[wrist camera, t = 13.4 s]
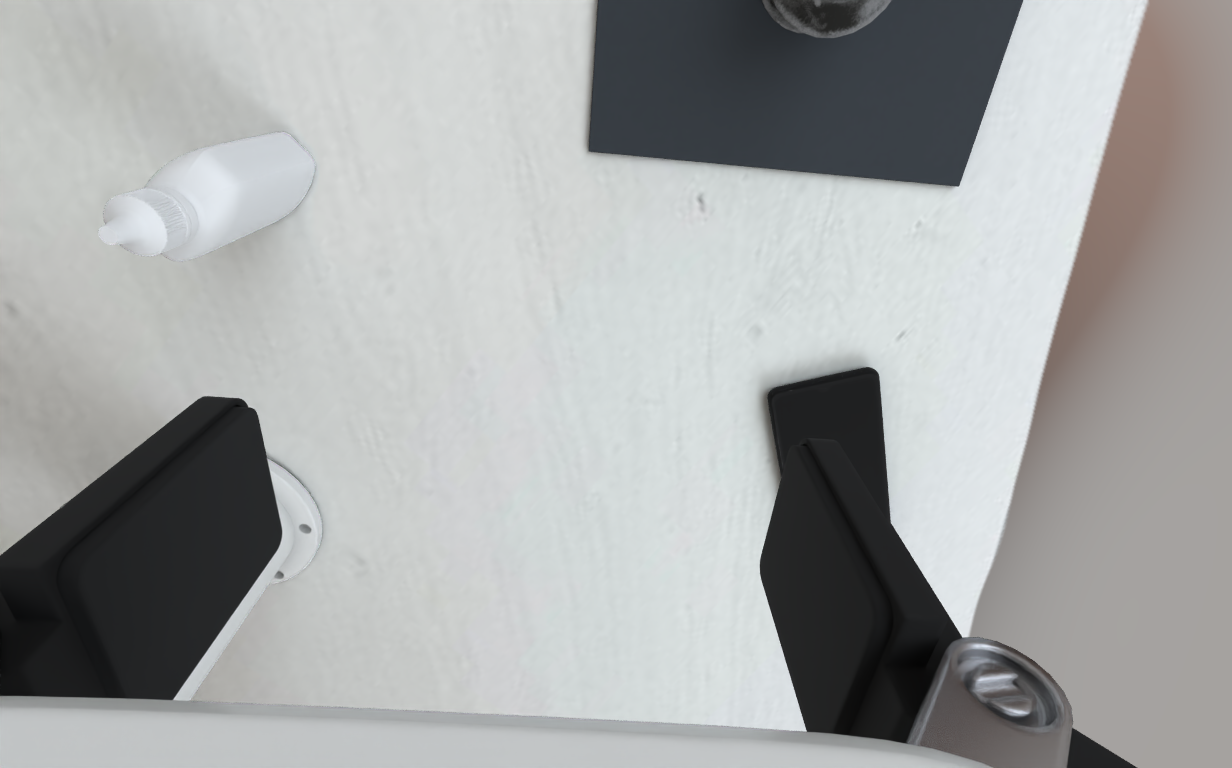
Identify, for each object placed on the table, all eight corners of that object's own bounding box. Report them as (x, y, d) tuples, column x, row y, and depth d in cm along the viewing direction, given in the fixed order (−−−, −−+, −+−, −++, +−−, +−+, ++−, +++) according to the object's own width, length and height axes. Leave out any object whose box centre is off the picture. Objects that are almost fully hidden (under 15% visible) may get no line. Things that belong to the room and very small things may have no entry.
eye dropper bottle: (207, 149, 32) (1, 191, 21) (304, 125, 31) (142, 157, 21) (247, 229, 34) (77, 304, 23) (338, 208, 33) (207, 276, 23)
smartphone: (797, 564, 45) (767, 393, 38) (795, 556, 45) (764, 387, 38) (893, 547, 44) (880, 368, 37) (889, 538, 44) (875, 362, 37)
